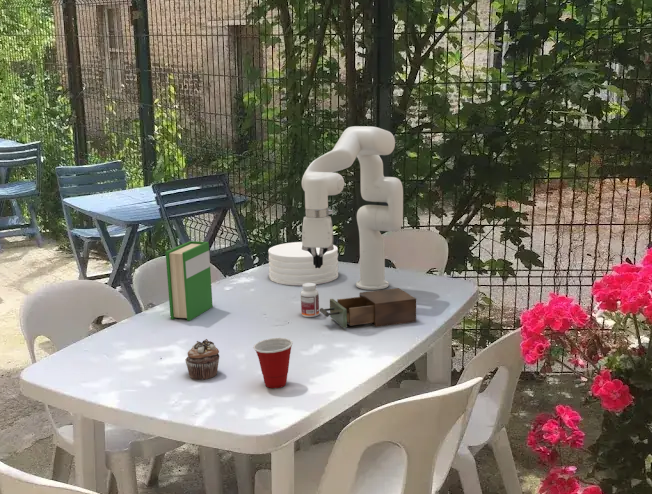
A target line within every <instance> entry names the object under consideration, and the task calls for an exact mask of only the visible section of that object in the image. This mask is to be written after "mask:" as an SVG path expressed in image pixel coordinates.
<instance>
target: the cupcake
mask: <svg viewBox="0 0 652 494" xmlns="http://www.w3.org/2000/svg"><path fill="white" fill-rule="evenodd" d="M184 361H185V365H186V368H187V371H188V376H189V377H190V378H191V379H193V380H201V381H202V380H208V379H212V378H214V377H216V376H217V375H218V368H219V363H220V350H219V349H218V348H217V347H216V345H215V343H214V342H213V341H211V340H208V339H207V338H206V339H204V340H202V342H201V341H199V340H196V342H195V343H194V344H193V345H192V346H191V349H189V350H188V352H187V357H186V358H185V360H184Z"/></svg>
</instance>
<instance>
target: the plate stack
mask: <svg viewBox="0 0 652 494" xmlns="http://www.w3.org/2000/svg"><path fill="white" fill-rule="evenodd" d="M333 247H334V249H333V250H331V251H327V252H326V253H325V254H324V255H323V265H321V267H320V268H315V265H313V256H312V254H311V253H309V252H308V251H305V250H302V241H294V242H293V241H292V242H286V243H280V244H277V245H273V246H271V247H269V248H268V267H269V268H268V273H269V275H268V276H269V277H268V278H269V280H270V281H272V282H273V283H276V284H280V285H287V286H303V284H305V283H315V284H316V285H321V284H326V283H329V282H333V281H335V280H337V279H338V278H339V266H338V265H339V260H338V258H339V254H338V251H339V249H338V246H337V245H335V244H333ZM316 251H317V255H319V251H320V248H316Z"/></svg>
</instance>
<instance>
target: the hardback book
mask: <svg viewBox="0 0 652 494" xmlns="http://www.w3.org/2000/svg"><path fill="white" fill-rule="evenodd" d="M209 242H210V241H197V240H189V241H187V242H185V243H182V244H180V245H177V246H176V247H173V248H171V249H168V250H166V251H165V262H166V263H165V264H166V276H167V277H166V278H167V290H168V304H169V318H170V320H175V319H177V318H178V319H186V322H190V321H192V320H194V319H196V318H197V317H199V316H200V315H202V314H203V313H206V312H207V311H209V310H210V309H211V308H213V306H214V304H213V292H212V291H213V290H212V275H211V274H212V273H211V257H210V246H209V245H210V243H209ZM170 316H171V317H170Z"/></svg>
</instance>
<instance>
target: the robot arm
mask: <svg viewBox="0 0 652 494" xmlns="http://www.w3.org/2000/svg"><path fill="white" fill-rule="evenodd" d="M395 146H396V138H395V136H394V134H393V133H392V132H391V131H389V130H386V129H383V128H380V127H379V126H378V127H377V126H370V125H368V126H364V125H363V126H362V125H360V126H359V125H354V126H348V127H347V128H345V129H344V131H343V132H342V133H341V135H340V137H339V138H338V140H337V142H336V143H335V144H334V147H333V148H332V150H329V151H328V152H326V153H324V154H322V155H320V156H318V157H317V158H316V159H314V160H313V161H312V162H311V163H309V165H308V166H307V168H306V169H305V171H304V173H303V175H302V178H301V188H302V190H303V192H304V210H305V216H303V221H302V229H301V242H302V250H305V251H308V252H309V253H311V254H312V256H313V265H315V268H320V267H321V265H323V255H324V254H325V253H326V252H327V251H331V250H333V249H334V247H333V245H334V229H333V220H332V217H331V216H329V215H333V213H334V212H333V209H330V208H329V196H336V195H339V194H340V193H341V192H342V191H343V190H344V187H345V180H344V177H343V176H342V175H341V174H340V173H338V172H340V171H343V170H345V169H348V168H350V167H351V166H352V165H353V164H354V162H355V161H356V159H358V163H359V169H360V170H359V171H360V196H361V198H362V200H363V201H366V202H372V203H386V204H387V205H380V204H365V205H362V206H360V207H359V208H358V209H357V212H356V222H357V223H356V224H357V228H358V236H359V280H358V281H356V283H355V286H356V287H357V288H358V289H360V290H367V291H378V290H385V289H387V288H388V287H389V286H390V282H389V281H387V280H386V275H385V274H386V260H385V259H386V256H385V255H386V254H385V253H386V251H385V250H386V247H385V246H386V245H385V244H386V243H385V238H384V236H383V234H382V233H381V232H390V233H391V232H394V233H395V232H398V231H399V230H401V229H402V227H403V222H404V186H403V183H402V181H401V179H400V178H398V177H395V176H385V175H384V162H383V159H382V158H381V156H388V155H391V154H392V153H393V151H394V150H395ZM316 248H320V251H319V255H317V251H316Z"/></svg>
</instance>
